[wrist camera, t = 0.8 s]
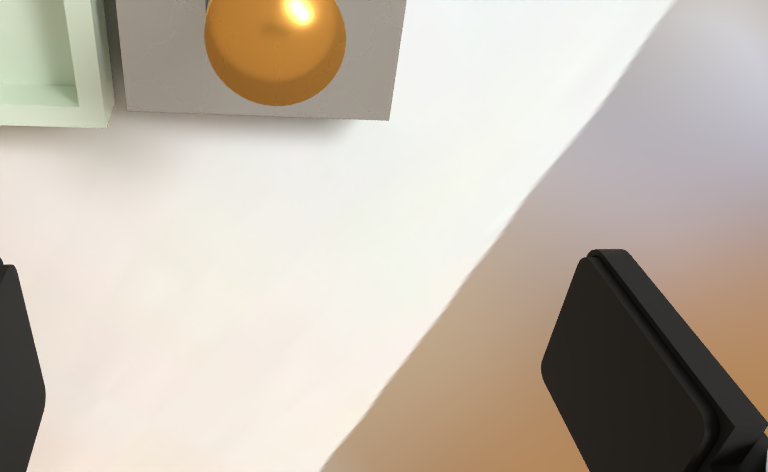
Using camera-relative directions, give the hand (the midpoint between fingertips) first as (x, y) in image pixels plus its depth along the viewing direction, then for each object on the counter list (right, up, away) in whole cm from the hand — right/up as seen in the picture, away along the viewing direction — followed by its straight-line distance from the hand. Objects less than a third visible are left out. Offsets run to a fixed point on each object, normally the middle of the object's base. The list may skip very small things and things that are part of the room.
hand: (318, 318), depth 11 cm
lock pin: (-4, +14, +18) cm, 23 cm away
